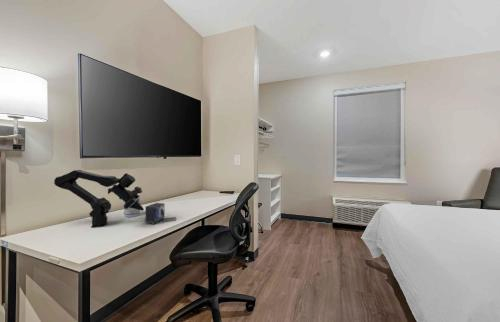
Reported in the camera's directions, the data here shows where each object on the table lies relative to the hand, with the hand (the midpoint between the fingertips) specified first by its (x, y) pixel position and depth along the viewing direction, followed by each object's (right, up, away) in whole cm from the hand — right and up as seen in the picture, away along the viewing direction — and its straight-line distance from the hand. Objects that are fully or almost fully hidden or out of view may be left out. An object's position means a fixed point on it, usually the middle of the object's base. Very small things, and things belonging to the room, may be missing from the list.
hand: (143, 210), depth 125 cm
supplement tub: (-16, -8, +16) cm, 23 cm away
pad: (+13, -8, +7) cm, 17 cm away
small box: (+6, -8, +3) cm, 10 cm away
